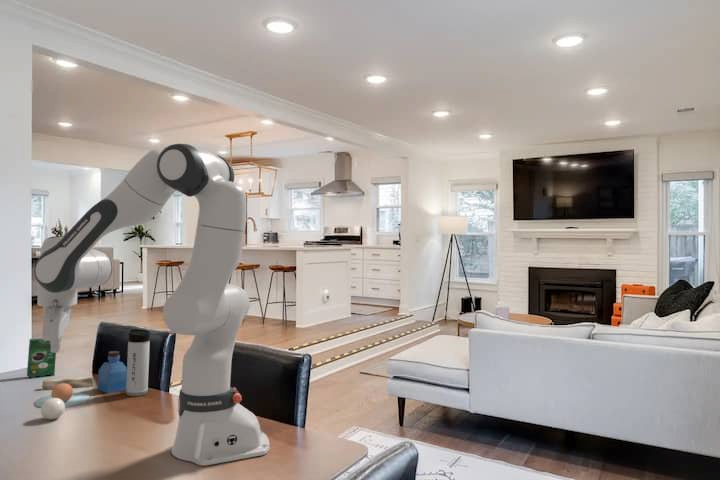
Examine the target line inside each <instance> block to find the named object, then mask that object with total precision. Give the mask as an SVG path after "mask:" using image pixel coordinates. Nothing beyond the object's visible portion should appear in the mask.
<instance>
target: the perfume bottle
mask: <svg viewBox="0 0 720 480" xmlns="http://www.w3.org/2000/svg"><path fill="white" fill-rule="evenodd" d="M120 358H121V355H120V351H118V350H113V351H112V350H111V351H108V356H107V360H108V361H107V362H106V361H105V362H103V363H102V365H101V367H99V369H98V371H97V372H98V373H97V374H98V376H97V379H98V380H97V390H98V391H101V392H103V393H106V394H113V393H115V392H120V391H124V390H125V391H126V381H127V365H125V363H124V362H123V361H120Z"/></svg>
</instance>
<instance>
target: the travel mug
mask: <svg viewBox="0 0 720 480" xmlns="http://www.w3.org/2000/svg"><path fill="white" fill-rule="evenodd" d="M150 337H151V332H150V331H149V330H146V329H138V328H131V329H130V330H129V331H128V341H127V342H128V343H127V360H126V361H127V363H126V364H127V365H126V368H127V381H126V389H125V395H126V396H129V397H140V396H141V397H142V396H145V395H147V393H148V392H149V371H150V370H149V368H150V366H149V365H150V346H151V345H150V344H151V343H150V341H151V339H150Z"/></svg>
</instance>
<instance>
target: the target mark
mask: <svg viewBox="0 0 720 480" xmlns="http://www.w3.org/2000/svg"><path fill="white" fill-rule="evenodd" d="M51 398H52V396H51V394H48V395H46V396H43V397H40V398H38V399H37V400H35V401H34V405H35V406H36V407H38V408H41V407H42V405H43V404H44V402H45V401H47V400H48V399H51ZM89 399H90V395H89V394H87V393H83V392H73V395H72V397H71V398H70V399H69V400H68V401H66V402H64V404H65V408H68V407H73V406H78V405H81V404H83V403H86V402H88V401H89Z"/></svg>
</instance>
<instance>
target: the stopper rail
mask: <svg viewBox="0 0 720 480" xmlns="http://www.w3.org/2000/svg"><path fill="white" fill-rule="evenodd" d="M61 383H66V384H69V385H70V386H71V387H72V388H81V387H82V388H84V387H85V388H86V387H93V385H94V377H91V376H90V377H78V378H77V377H76V378H62V379H61V378H59V379H44V380H42V387H41V389H45V390H53V388H54V387H55V386H57V385H58V384H61Z"/></svg>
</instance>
